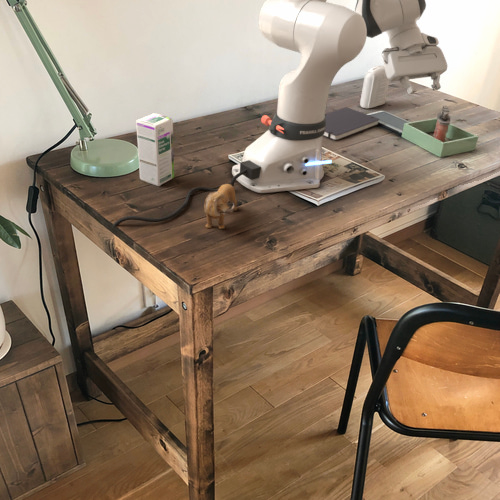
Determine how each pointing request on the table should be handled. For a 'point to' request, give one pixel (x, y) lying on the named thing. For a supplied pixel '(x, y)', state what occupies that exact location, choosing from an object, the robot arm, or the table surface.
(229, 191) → the tan animal figure
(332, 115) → the notebook
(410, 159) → the table surface
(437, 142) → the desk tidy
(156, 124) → the syrup box
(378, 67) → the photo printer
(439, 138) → the lighter
